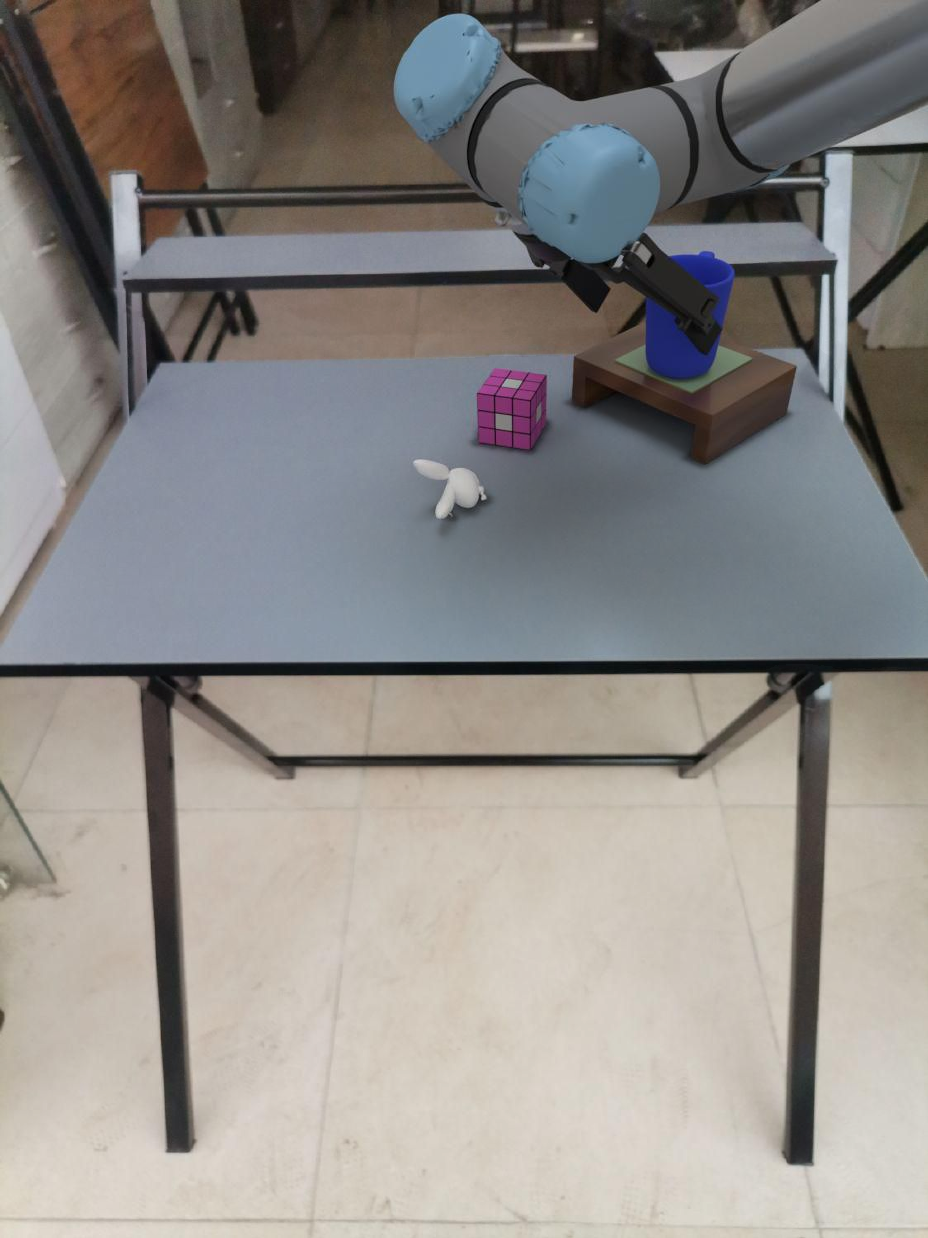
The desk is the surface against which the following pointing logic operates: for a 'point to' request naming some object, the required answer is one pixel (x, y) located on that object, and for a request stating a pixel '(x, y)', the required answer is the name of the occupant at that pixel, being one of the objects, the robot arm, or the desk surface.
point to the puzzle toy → (512, 408)
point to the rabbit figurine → (452, 486)
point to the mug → (663, 339)
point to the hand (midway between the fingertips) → (654, 319)
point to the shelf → (691, 389)
